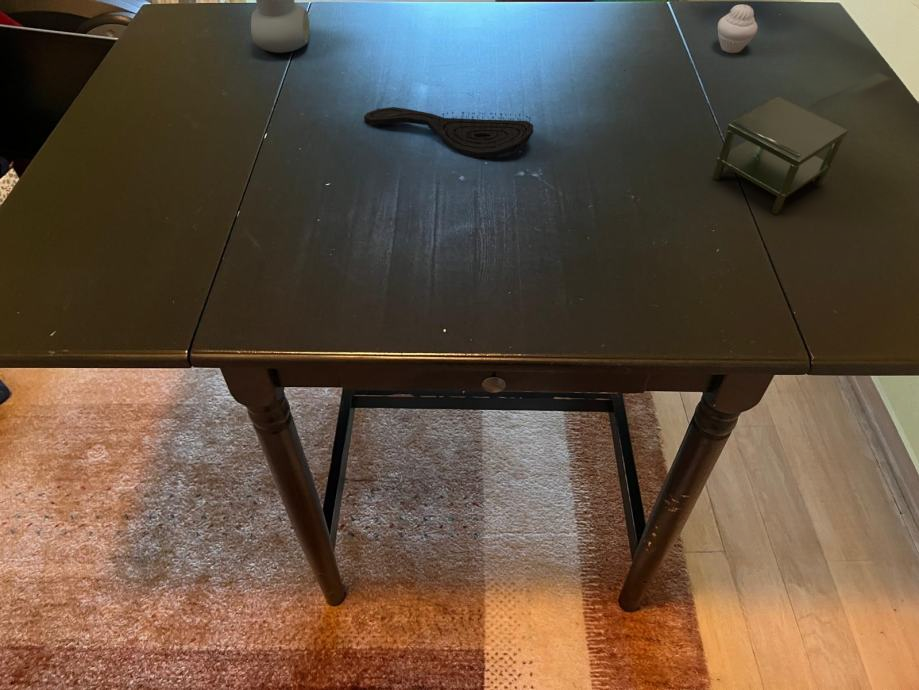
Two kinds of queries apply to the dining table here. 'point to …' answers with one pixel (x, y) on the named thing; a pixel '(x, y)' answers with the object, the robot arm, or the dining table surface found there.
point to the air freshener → (279, 25)
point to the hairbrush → (462, 130)
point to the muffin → (737, 28)
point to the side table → (780, 148)
